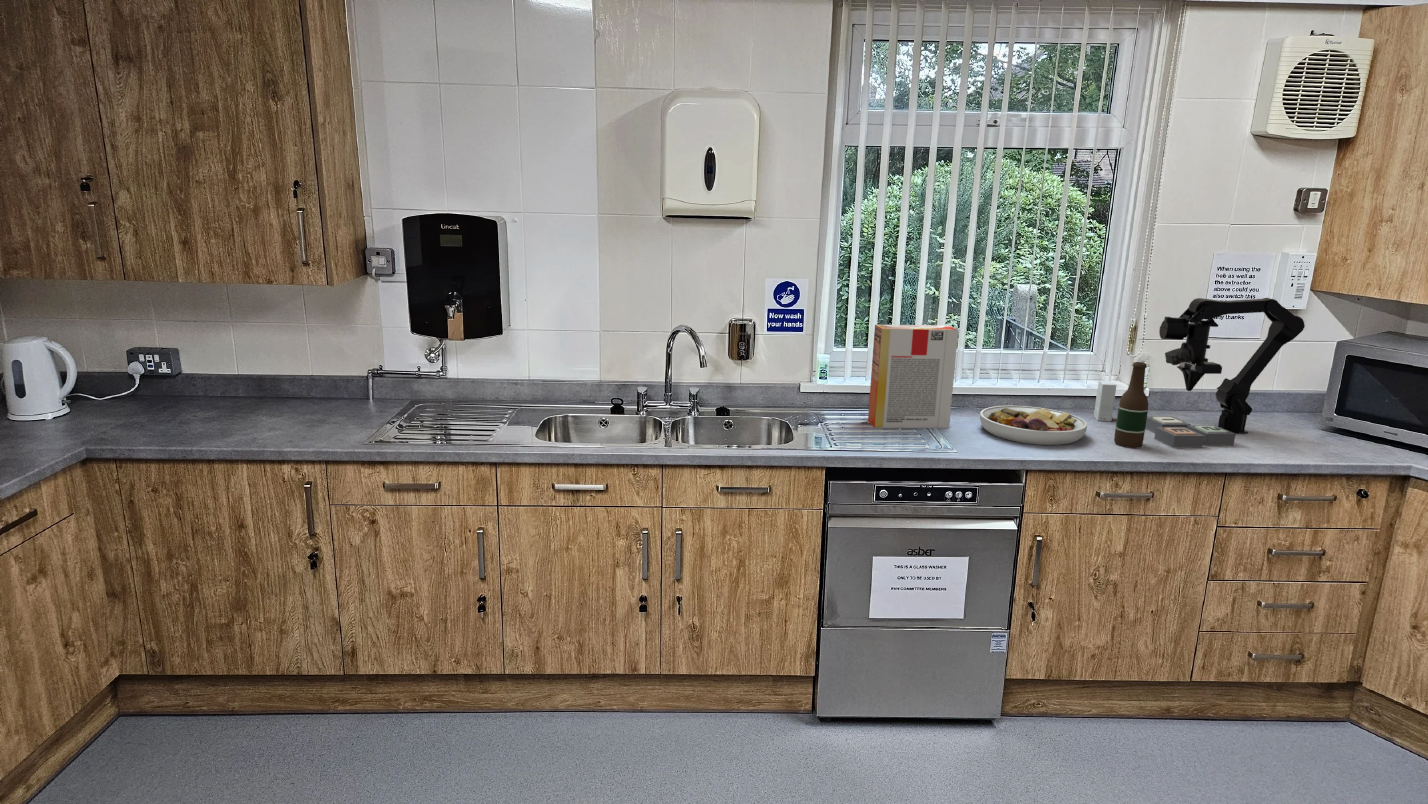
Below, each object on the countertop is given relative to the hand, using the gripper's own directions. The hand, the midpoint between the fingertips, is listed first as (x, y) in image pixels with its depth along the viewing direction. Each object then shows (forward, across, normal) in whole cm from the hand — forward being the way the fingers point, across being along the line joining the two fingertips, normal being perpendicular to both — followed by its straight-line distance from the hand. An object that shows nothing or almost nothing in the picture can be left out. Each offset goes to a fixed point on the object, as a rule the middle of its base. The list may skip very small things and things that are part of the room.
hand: (1188, 390), depth 262 cm
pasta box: (+12, -5, -86) cm, 87 cm away
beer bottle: (+12, +17, -28) cm, 35 cm away
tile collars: (+12, +10, -6) cm, 17 cm away
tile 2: (+10, +14, -1) cm, 18 cm away
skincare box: (+12, -11, -20) cm, 26 cm away
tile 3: (+10, +16, -12) cm, 23 cm away
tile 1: (+10, +4, -8) cm, 14 cm away
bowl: (+12, +5, -51) cm, 53 cm away
